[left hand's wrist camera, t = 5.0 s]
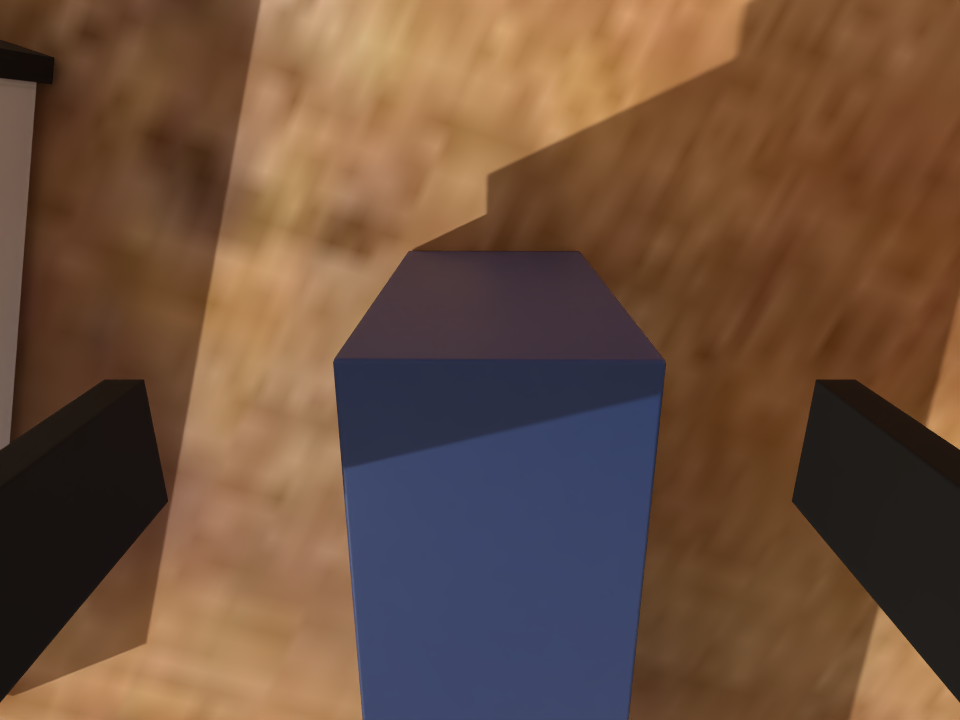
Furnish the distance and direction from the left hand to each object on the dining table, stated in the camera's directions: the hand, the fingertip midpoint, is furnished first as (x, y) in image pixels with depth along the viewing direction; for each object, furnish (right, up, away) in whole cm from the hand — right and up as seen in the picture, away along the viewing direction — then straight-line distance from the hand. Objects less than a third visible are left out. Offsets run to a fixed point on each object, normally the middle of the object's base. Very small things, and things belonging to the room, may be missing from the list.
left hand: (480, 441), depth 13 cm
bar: (0, -8, +9) cm, 12 cm away
